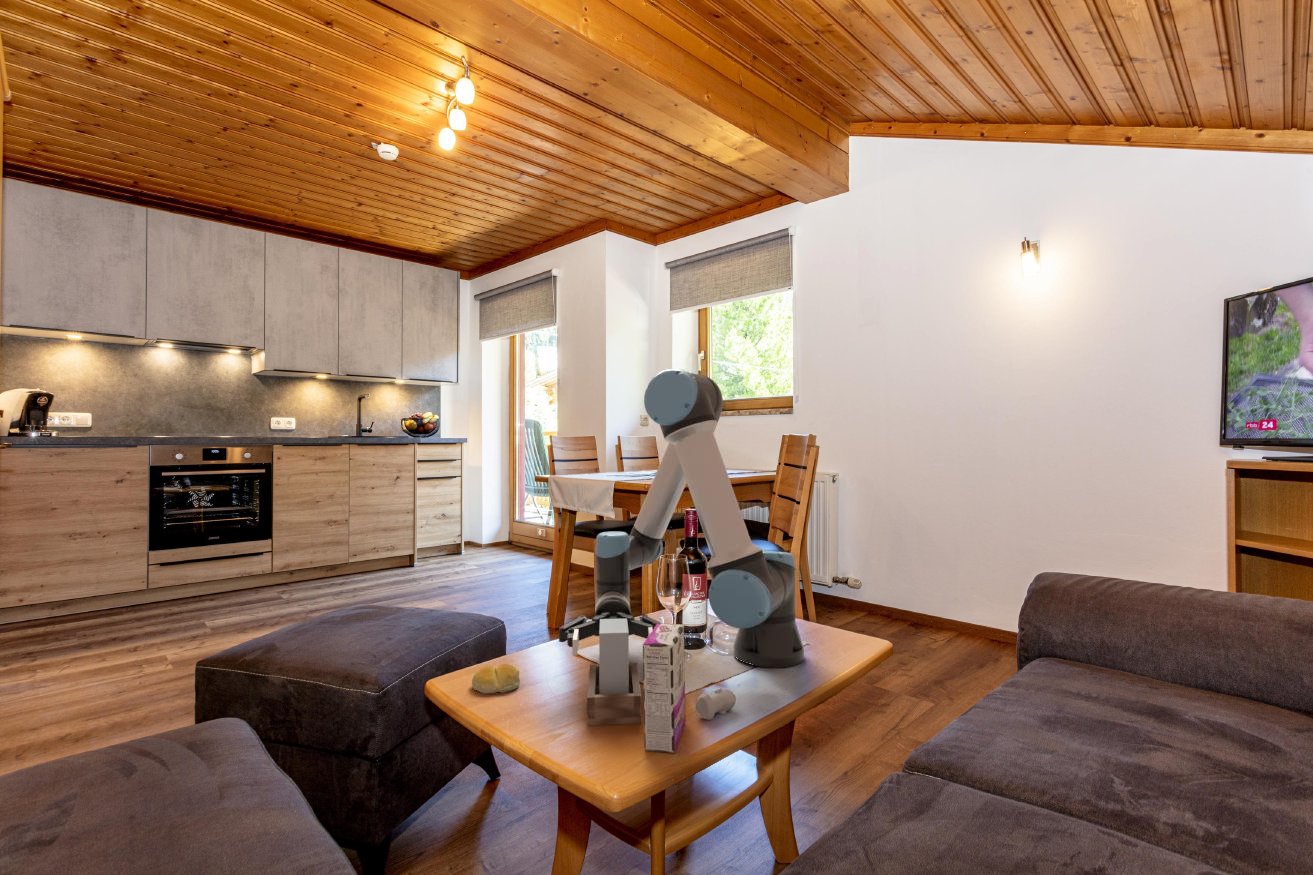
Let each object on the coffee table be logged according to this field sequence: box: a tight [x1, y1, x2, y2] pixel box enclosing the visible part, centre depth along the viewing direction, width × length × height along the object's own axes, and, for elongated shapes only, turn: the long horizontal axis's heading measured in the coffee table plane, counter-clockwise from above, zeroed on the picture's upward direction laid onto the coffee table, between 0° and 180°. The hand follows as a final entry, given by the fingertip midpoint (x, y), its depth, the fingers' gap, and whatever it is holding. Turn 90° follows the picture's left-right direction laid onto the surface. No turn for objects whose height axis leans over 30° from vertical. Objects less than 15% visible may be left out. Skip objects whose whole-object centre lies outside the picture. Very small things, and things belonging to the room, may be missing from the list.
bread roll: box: [471, 663, 521, 694], centre depth 122 cm, size 8×9×4 cm
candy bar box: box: [642, 622, 687, 754], centre depth 100 cm, size 11×5×16 cm, turn 168°
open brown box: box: [586, 662, 642, 726], centre depth 113 cm, size 9×16×4 cm, turn 4°
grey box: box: [598, 618, 630, 695], centre depth 113 cm, size 5×9×13 cm, turn 4°
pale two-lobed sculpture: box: [695, 688, 737, 721], centre depth 109 cm, size 4×8×5 cm
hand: (613, 646), depth 111 cm, fingers open, 13 cm apart
